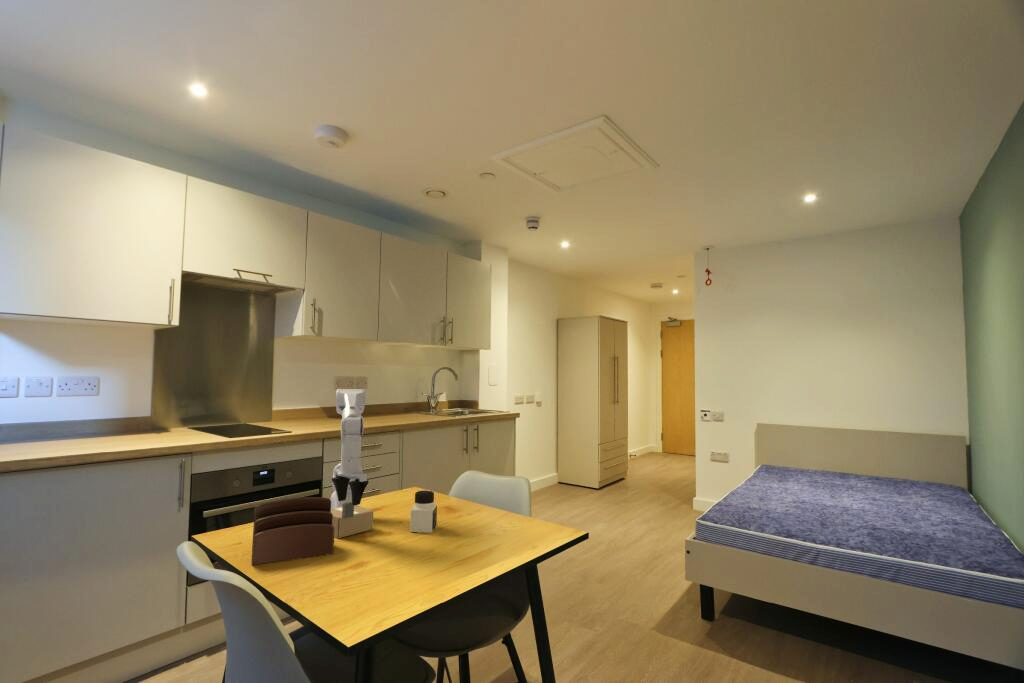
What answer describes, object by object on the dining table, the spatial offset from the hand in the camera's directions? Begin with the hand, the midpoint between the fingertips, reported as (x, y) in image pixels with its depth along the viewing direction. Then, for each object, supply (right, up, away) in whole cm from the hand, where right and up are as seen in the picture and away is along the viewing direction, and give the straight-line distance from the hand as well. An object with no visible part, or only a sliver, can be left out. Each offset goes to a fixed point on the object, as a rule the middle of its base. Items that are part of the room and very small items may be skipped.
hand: (349, 502), depth 148 cm
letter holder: (-10, -9, -15) cm, 21 cm away
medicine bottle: (+21, -11, +8) cm, 25 cm away
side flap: (+2, -10, +2) cm, 10 cm away
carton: (-3, -11, +6) cm, 12 cm away
